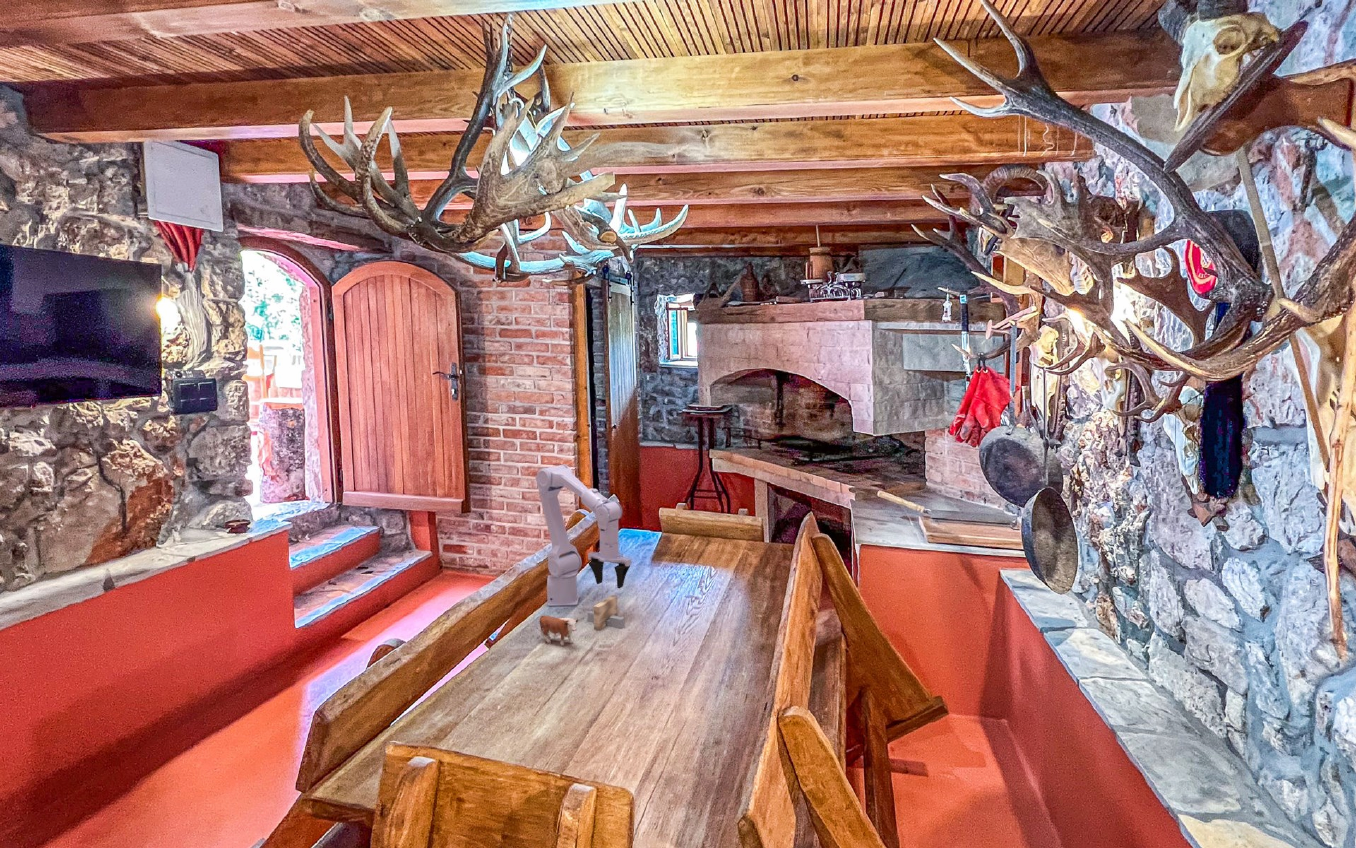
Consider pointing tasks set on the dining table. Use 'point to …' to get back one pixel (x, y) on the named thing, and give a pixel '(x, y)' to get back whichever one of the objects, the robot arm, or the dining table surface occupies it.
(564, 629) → the bull figurine
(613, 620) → the slate rail
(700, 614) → the dining table surface
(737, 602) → the dining table surface
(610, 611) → the beige slab block
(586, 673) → the dining table surface
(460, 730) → the dining table surface
